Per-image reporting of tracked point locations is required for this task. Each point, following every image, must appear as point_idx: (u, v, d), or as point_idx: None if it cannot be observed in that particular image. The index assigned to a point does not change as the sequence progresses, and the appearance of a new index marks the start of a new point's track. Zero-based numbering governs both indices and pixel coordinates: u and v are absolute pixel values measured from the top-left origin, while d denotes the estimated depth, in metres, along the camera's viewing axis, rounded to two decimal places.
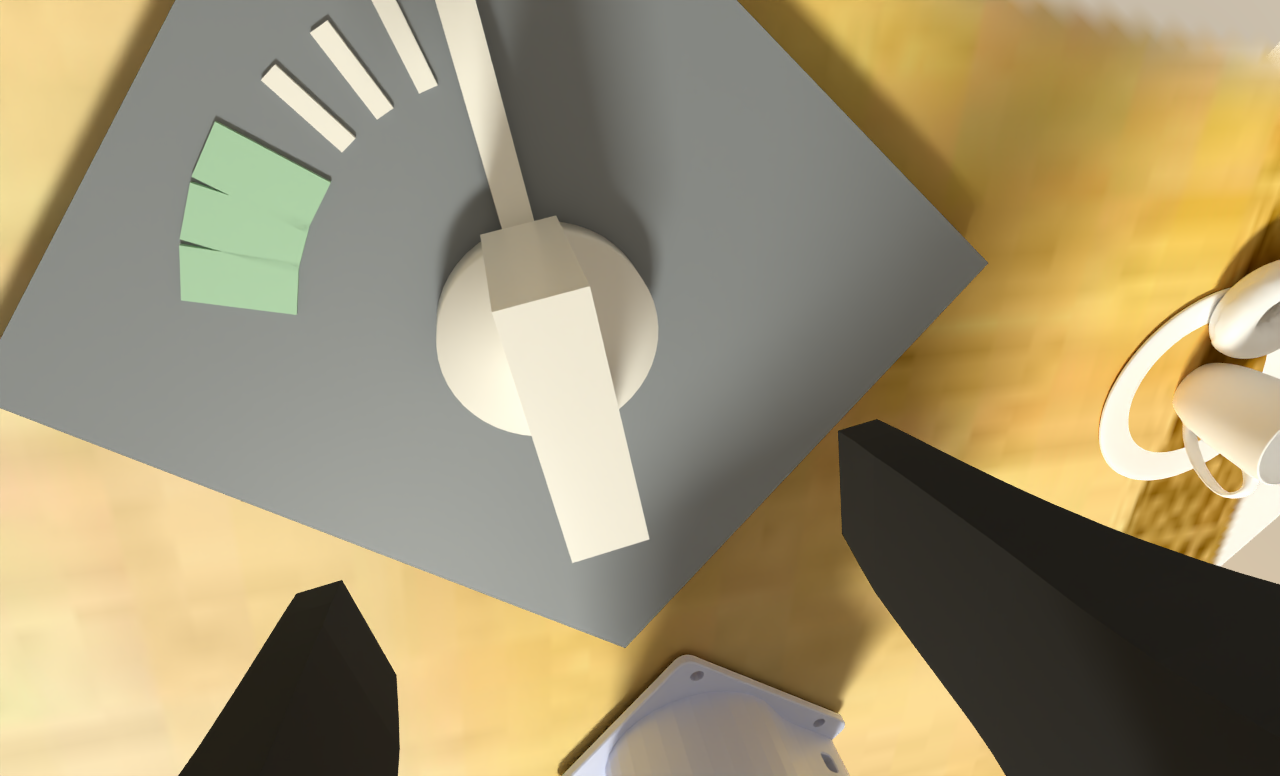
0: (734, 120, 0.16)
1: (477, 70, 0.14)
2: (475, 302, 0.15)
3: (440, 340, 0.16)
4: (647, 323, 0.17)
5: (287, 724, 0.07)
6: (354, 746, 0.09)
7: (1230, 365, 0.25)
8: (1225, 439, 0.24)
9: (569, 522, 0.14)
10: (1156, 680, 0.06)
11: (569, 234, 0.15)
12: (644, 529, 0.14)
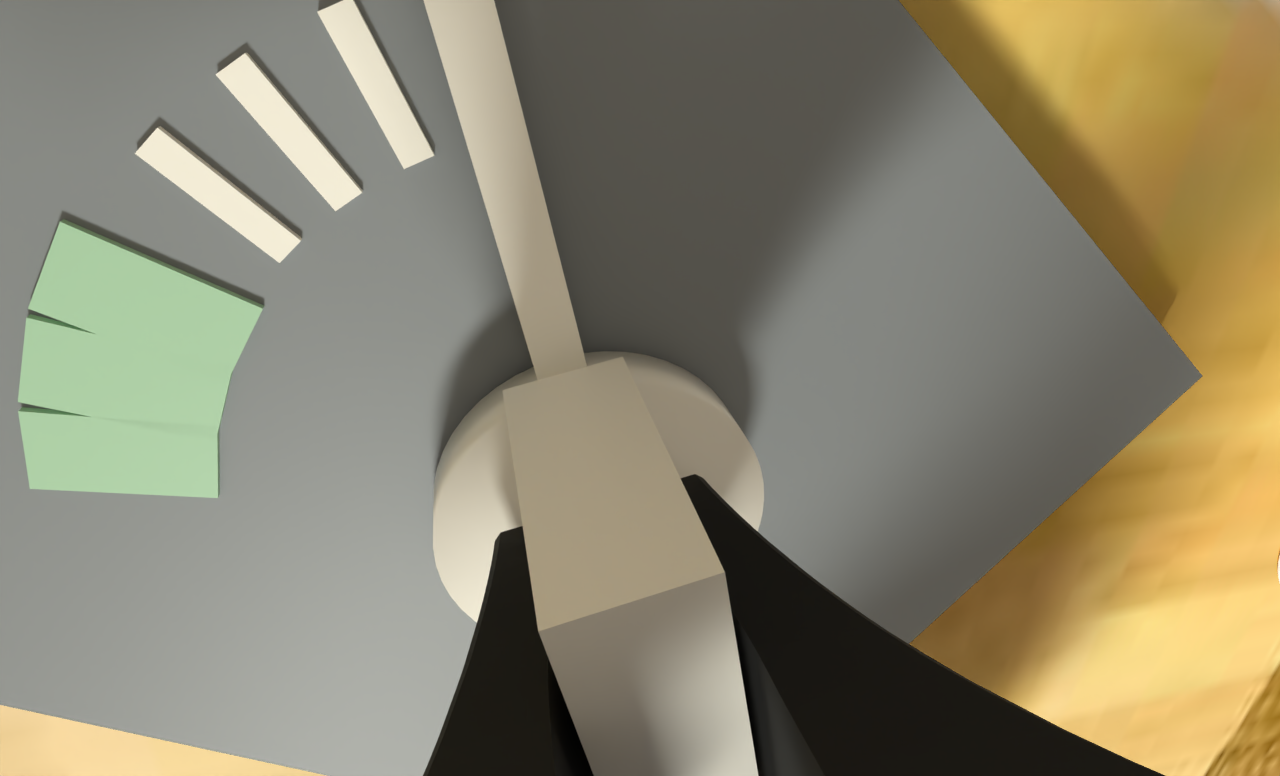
0: (887, 196, 0.10)
1: (500, 134, 0.08)
2: (493, 485, 0.10)
3: (439, 539, 0.10)
4: (749, 496, 0.11)
5: None
6: None
7: None
8: None
9: None
10: None
11: (640, 380, 0.10)
12: None
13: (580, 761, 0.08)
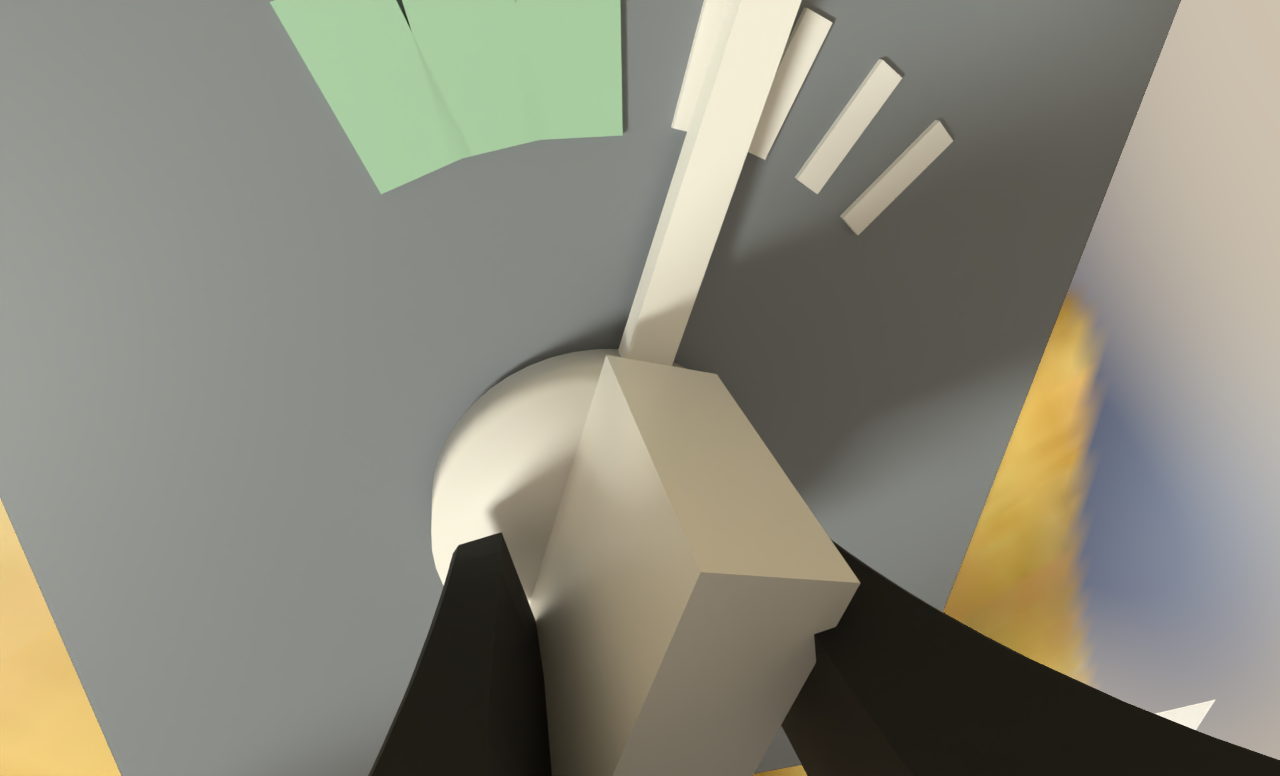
0: (917, 484, 0.14)
1: (729, 137, 0.09)
2: (541, 439, 0.10)
3: (459, 470, 0.10)
4: None
5: (496, 657, 0.07)
6: (530, 689, 0.09)
7: None
8: None
9: None
10: (900, 770, 0.05)
11: None
12: None
13: None
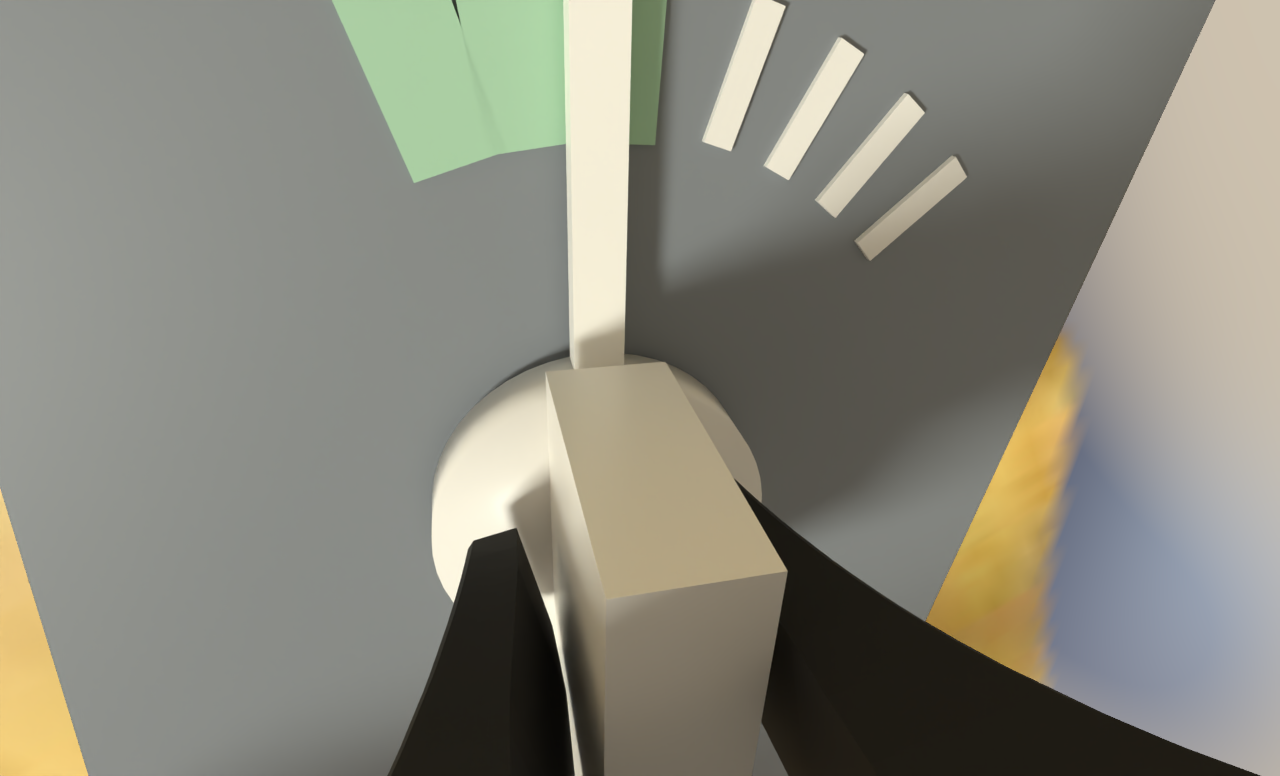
0: (904, 508, 0.14)
1: (604, 125, 0.08)
2: (510, 465, 0.10)
3: (441, 511, 0.10)
4: None
5: (515, 651, 0.07)
6: (547, 683, 0.09)
7: None
8: None
9: None
10: None
11: None
12: None
13: (546, 772, 0.08)
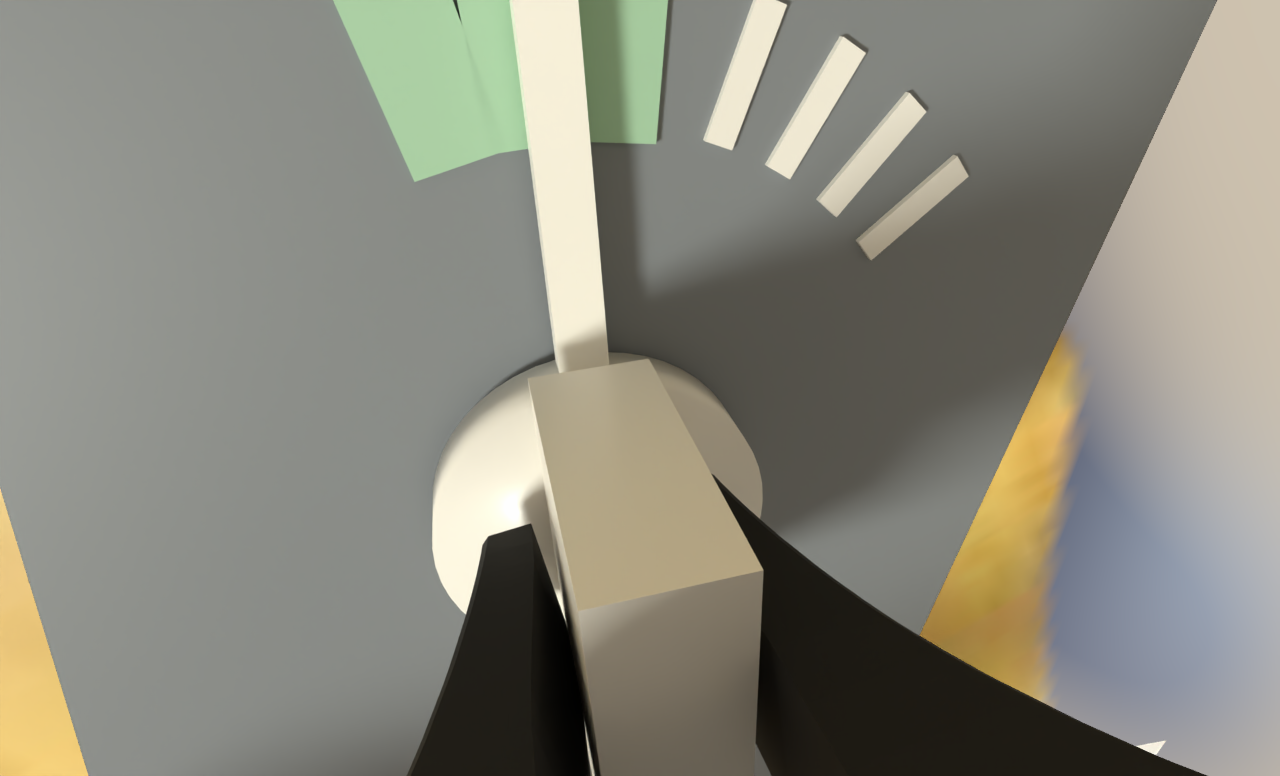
0: (905, 507, 0.14)
1: (562, 126, 0.08)
2: (503, 472, 0.10)
3: (439, 523, 0.10)
4: None
5: (534, 645, 0.07)
6: (563, 678, 0.09)
7: None
8: None
9: None
10: None
11: None
12: None
13: (565, 766, 0.08)
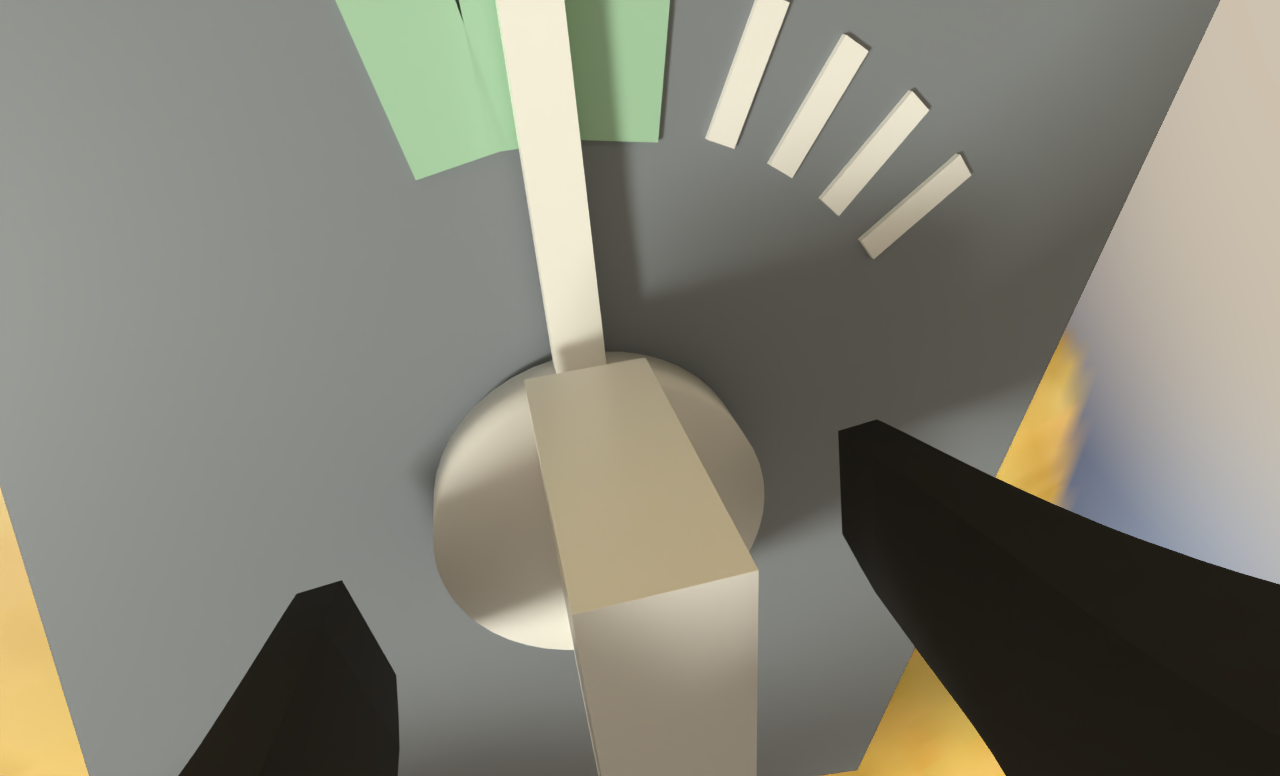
0: None
1: (552, 126, 0.08)
2: (502, 474, 0.10)
3: (440, 525, 0.10)
4: (749, 508, 0.11)
5: (287, 724, 0.07)
6: (354, 746, 0.09)
7: None
8: None
9: None
10: (1156, 678, 0.06)
11: None
12: None
13: None
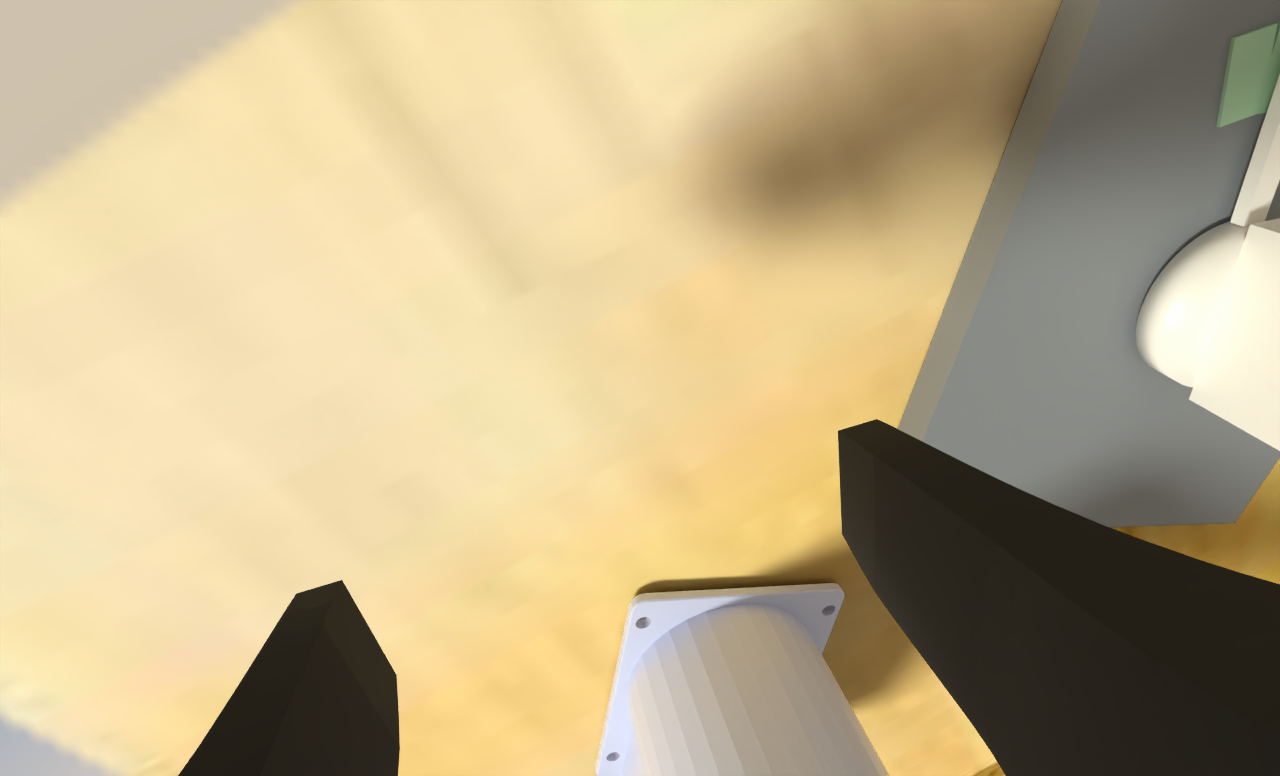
0: None
1: None
2: (1217, 275, 0.20)
3: (1181, 303, 0.20)
4: None
5: (287, 724, 0.07)
6: (354, 746, 0.09)
7: None
8: None
9: None
10: (1154, 679, 0.06)
11: None
12: None
13: None
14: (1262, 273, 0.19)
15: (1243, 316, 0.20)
